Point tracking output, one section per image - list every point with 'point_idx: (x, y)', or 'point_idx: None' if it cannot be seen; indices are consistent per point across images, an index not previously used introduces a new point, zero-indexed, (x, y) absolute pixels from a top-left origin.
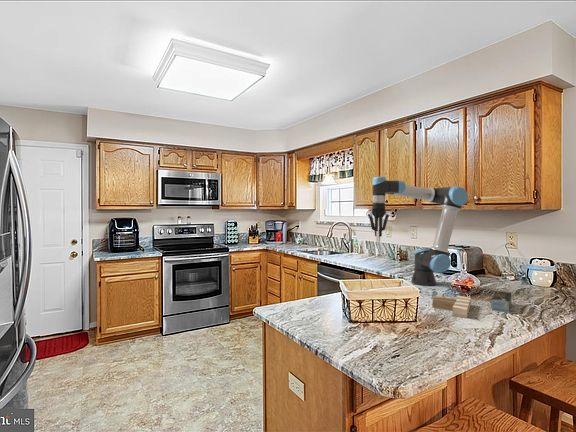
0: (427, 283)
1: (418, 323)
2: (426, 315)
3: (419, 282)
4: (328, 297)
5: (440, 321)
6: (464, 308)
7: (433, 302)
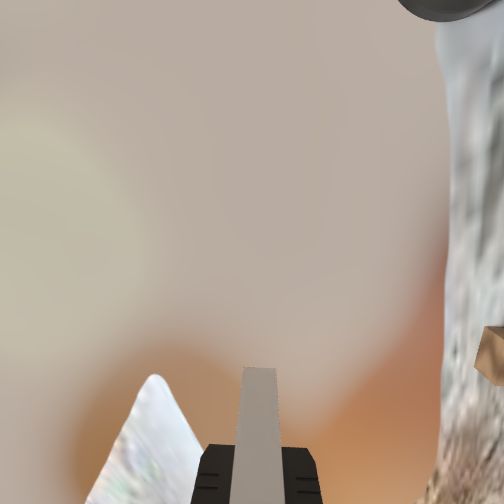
0: (482, 6)
1: (432, 499)
2: (453, 440)
3: (439, 13)
4: (151, 415)
5: (486, 466)
6: None
7: (489, 378)
